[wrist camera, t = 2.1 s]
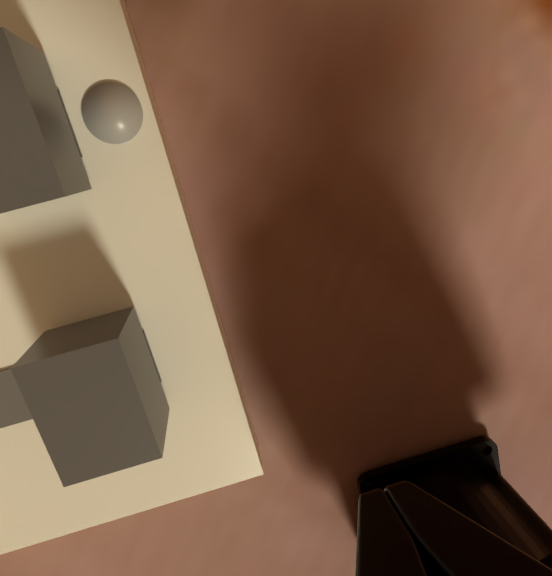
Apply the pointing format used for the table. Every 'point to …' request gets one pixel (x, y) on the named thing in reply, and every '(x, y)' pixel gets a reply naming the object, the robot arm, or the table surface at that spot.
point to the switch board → (112, 285)
